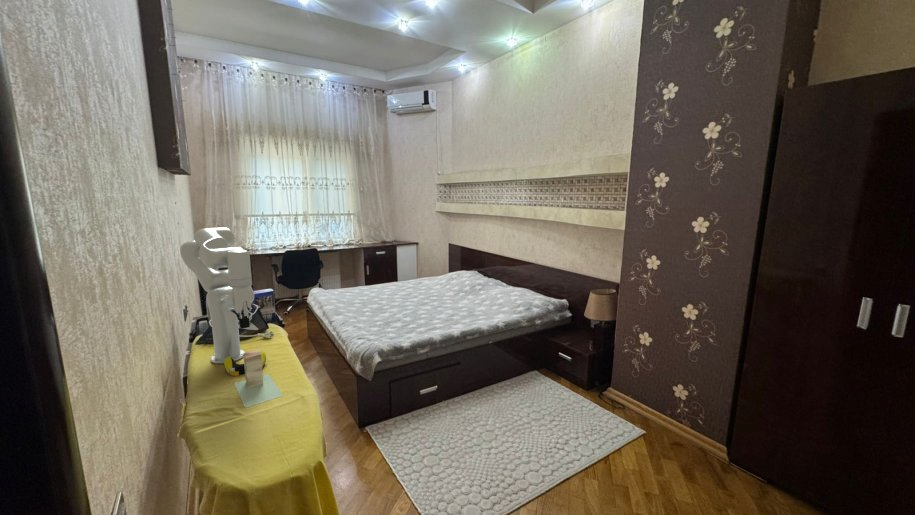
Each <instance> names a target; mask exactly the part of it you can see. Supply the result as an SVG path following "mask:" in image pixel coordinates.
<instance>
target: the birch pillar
mask: <svg viewBox="0 0 915 515" xmlns="http://www.w3.org/2000/svg"><path fill="white" fill-rule="evenodd" d="M260 352H261V351H260V350H259V349H256V350H250V351H246V352H245V353H243V356H244V357H243V364H244V368H245V374H244V375H245V376H244V377H245V380H246V384H247V386H248V388H251V387H254V386H258V385H261V384H263V375H264V372H263V367H262V359H261V353H260Z"/></svg>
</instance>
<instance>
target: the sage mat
mask: <svg viewBox="0 0 915 515" xmlns="http://www.w3.org/2000/svg"><path fill="white" fill-rule="evenodd" d="M234 386H235V389H236V390H237V393H238V396H239V397H240V399H241V401H242V404H243V407H244V408H245V409H246V408H249V407H252V406H256V405H258V404H261V403H264V402H268V401H272V400H275V399H278V398H280V397H283V393H282V391H281V390H280V389H279V387H278V386H277V384H276V382H275V381H274V380H273V377H271V375H270V374H269V373H268V374H263V384H261V385H258V386H254V387H251V388H248V386H247V384H246V379H245V380H241V381H238V382H235V383H234Z"/></svg>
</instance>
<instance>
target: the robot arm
mask: <svg viewBox="0 0 915 515" xmlns="http://www.w3.org/2000/svg"><path fill="white" fill-rule="evenodd" d="M234 242H235V234H234V232H233V231H232V230H231V229H230V228H229V227H224V226H223V227H206V228H205V227H204V228H201V229H198V230H197V231H196V232H194V235H193V240H189V241H186V242H184V243H182V245H181V246H180V249H179V251H180V256H181V258H182V261H183V263H184V264H185V266H186V267H187V268H189V270H190V271H191V272H192V273H194V275H195V276H196V278H197V279H198V281H199V284H200V285H201V287H202V288H203V290H204V291H205V292H206V296H205V298H206V304H207V308H208V310H209V313H210V319H211V320H210V322H211V330H212V339H213V349H214V354H213V355H211V357H210V361H211V363H213V364H216V365H220V364H222V365H223V364H224V362H225V359H226V358H227V357H231V358H232V359H233V360H234V361H235V362H236V361H239V360H241V359H243V358H244V356H243V353H246V352H245V350H243V349H241V345H240V344H241V342H240V341H241V340H240V332H239V329H241V330H242V329H246V328H250V326H251V325H250V317H249V312H251V311H252V303H253V301H254V300H255V292H254V289H253V288H252V286H253V280H252V278H253V277H252V270H251V269H252V268H251V256H250V252H249V251H248V250H247V249H244V248H243V247H242V246H241V247H240V246H234V247H233V245H234ZM223 268H227V269H223ZM231 309H233V310H234V312H233V311H232V310H231ZM235 313H236V314H235ZM237 314H238V316H237Z"/></svg>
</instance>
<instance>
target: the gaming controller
mask: <svg viewBox="0 0 915 515" xmlns="http://www.w3.org/2000/svg"><path fill="white" fill-rule="evenodd" d="M259 352H260V353H261V359H262V368H263V367H264V366H265V364H266V360H267V355H266V353H265V352H264V351H259ZM224 369H225V372H226V373H227V375H230V376H234V377H237V376H241V375H245V368H244V363H240V364H239V363H237V362H236V361H234V360H233V359H232V358H231V357H227V358H226V359H225V362H224Z"/></svg>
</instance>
